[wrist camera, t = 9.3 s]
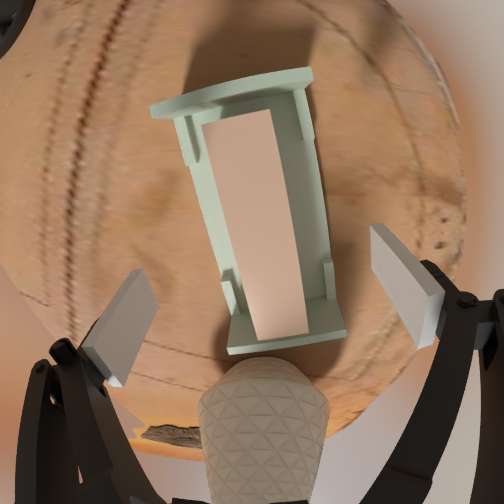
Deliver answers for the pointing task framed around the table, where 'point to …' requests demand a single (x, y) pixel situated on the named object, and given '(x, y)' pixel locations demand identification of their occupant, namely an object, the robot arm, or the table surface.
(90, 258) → the table surface
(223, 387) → the vase
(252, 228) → the pinkish tan rectangular block
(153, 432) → the wooden fragment
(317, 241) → the tray
